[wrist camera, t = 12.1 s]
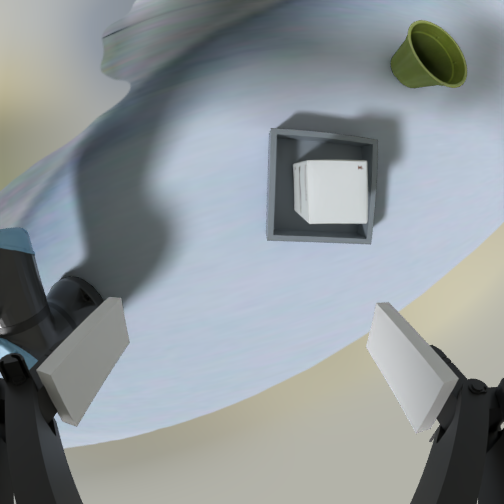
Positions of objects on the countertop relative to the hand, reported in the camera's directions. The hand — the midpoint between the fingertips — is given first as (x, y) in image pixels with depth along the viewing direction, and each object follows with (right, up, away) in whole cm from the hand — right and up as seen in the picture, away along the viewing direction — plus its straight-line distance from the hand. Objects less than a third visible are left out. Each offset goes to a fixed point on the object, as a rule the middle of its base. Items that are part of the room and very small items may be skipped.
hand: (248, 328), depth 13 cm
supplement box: (+10, +14, +28) cm, 33 cm away
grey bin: (+10, +14, +28) cm, 33 cm away
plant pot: (+28, +36, +22) cm, 51 cm away
